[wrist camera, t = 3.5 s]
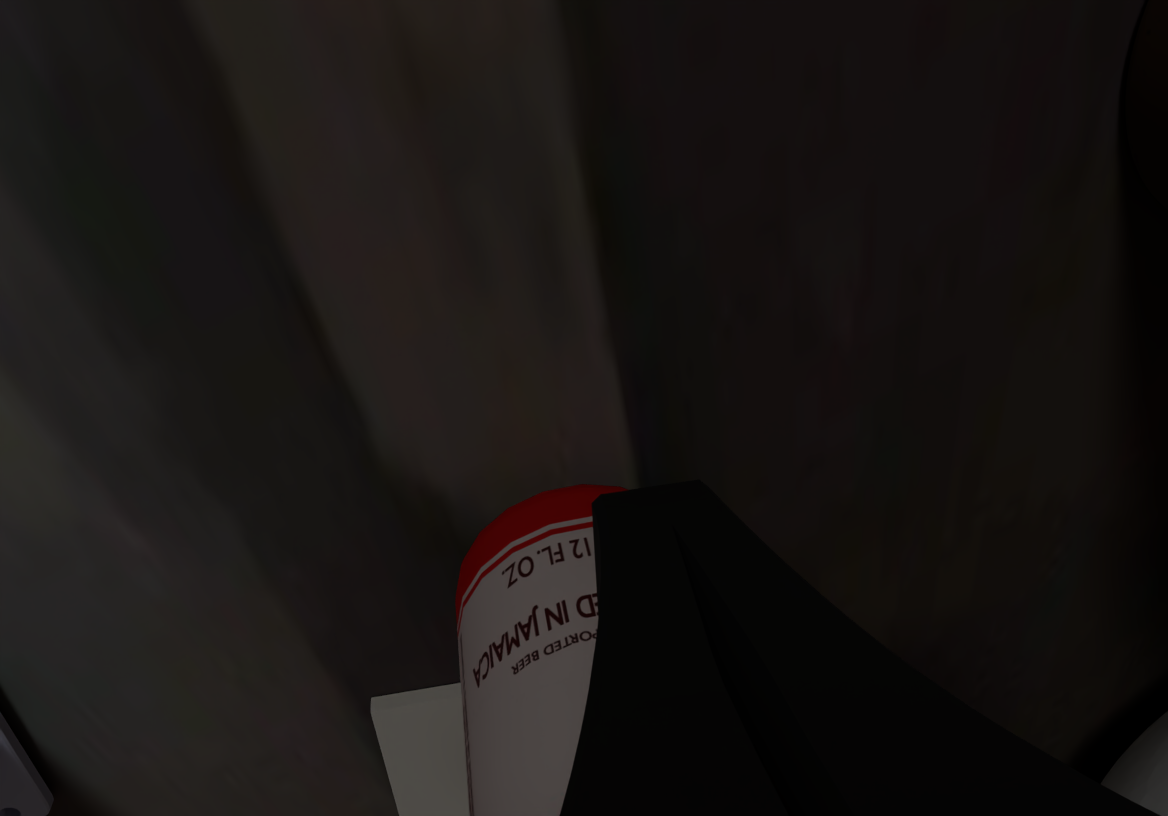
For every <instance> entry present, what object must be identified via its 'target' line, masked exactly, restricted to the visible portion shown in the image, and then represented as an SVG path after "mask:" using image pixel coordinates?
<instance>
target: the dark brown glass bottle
mask: <svg viewBox="0 0 1168 816" xmlns="http://www.w3.org/2000/svg"><path fill="white" fill-rule="evenodd" d="M1125 117H1126V129H1127V137H1128V142H1129V147H1130V151H1131V154H1132V158H1133V161H1134V163H1135V166H1136V168H1137V171H1138V173H1139V175H1140V177H1141V179H1142V181H1143V182H1144V184H1145V185H1146V187H1147V188H1148V190H1149V191H1150V192H1151V194H1152V195H1153V196H1154V197H1155V198H1156V199H1157V201H1158V202H1159V203H1161V204H1162V205H1163V206H1164V207H1165V208H1166V209H1167V210H1168V0H1148V3H1147V5H1146V8H1145V11H1144V13H1143V16H1142V19H1141V22H1140V25H1139V28H1138V32H1137V35H1136V38H1135V42H1134V46H1133V50H1132V54H1131V59H1130V64H1129V70H1128V77H1127V85H1126V98H1125Z"/></svg>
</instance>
